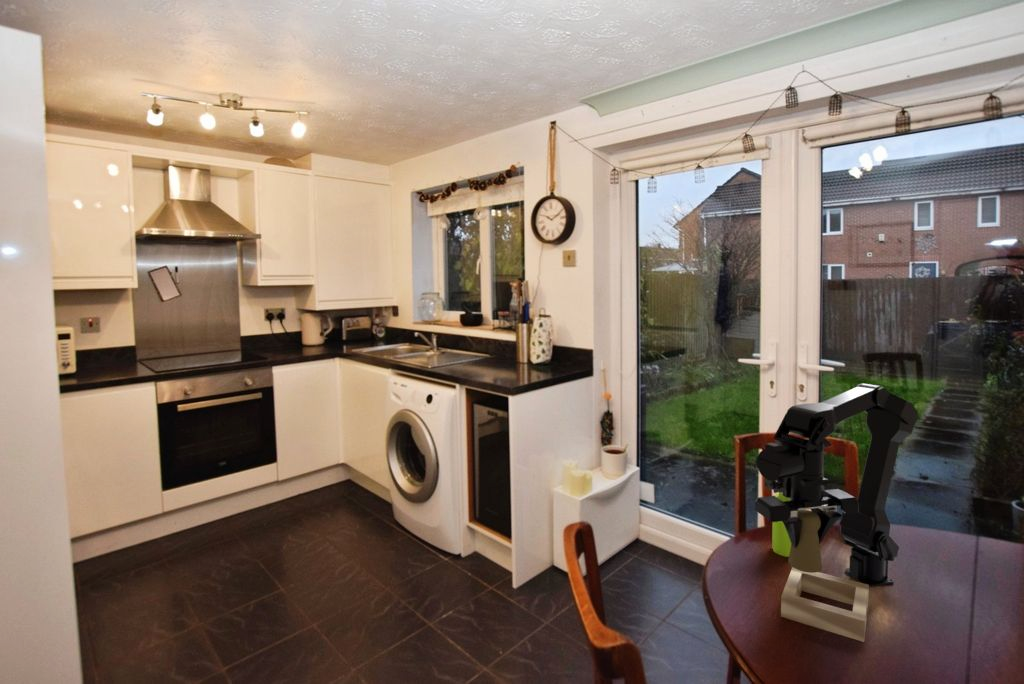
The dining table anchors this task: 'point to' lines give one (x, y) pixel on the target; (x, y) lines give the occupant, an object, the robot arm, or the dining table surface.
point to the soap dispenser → (780, 534)
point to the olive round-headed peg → (807, 544)
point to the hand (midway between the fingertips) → (805, 545)
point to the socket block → (824, 614)
